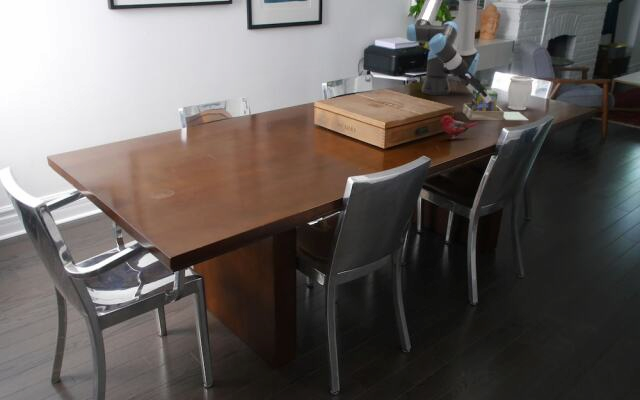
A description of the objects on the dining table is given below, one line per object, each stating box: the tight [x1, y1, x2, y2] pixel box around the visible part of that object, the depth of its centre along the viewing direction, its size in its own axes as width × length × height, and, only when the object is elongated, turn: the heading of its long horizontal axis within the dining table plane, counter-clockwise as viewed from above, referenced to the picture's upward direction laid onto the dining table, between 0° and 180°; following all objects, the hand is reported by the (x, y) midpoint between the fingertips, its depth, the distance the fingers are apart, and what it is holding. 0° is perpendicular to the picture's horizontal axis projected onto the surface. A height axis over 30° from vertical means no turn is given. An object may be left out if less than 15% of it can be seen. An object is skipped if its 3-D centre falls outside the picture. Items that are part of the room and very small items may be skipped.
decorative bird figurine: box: [439, 115, 480, 140], centre depth 209 cm, size 3×18×10 cm, turn 106°
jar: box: [507, 75, 534, 111], centre depth 255 cm, size 11×10×15 cm
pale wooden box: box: [462, 103, 505, 121], centre depth 243 cm, size 15×15×4 cm
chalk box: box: [471, 83, 498, 111], centre depth 241 cm, size 9×9×15 cm
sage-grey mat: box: [503, 111, 529, 122], centre depth 244 cm, size 14×10×1 cm
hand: (482, 97), depth 240 cm, fingers open, 13 cm apart
